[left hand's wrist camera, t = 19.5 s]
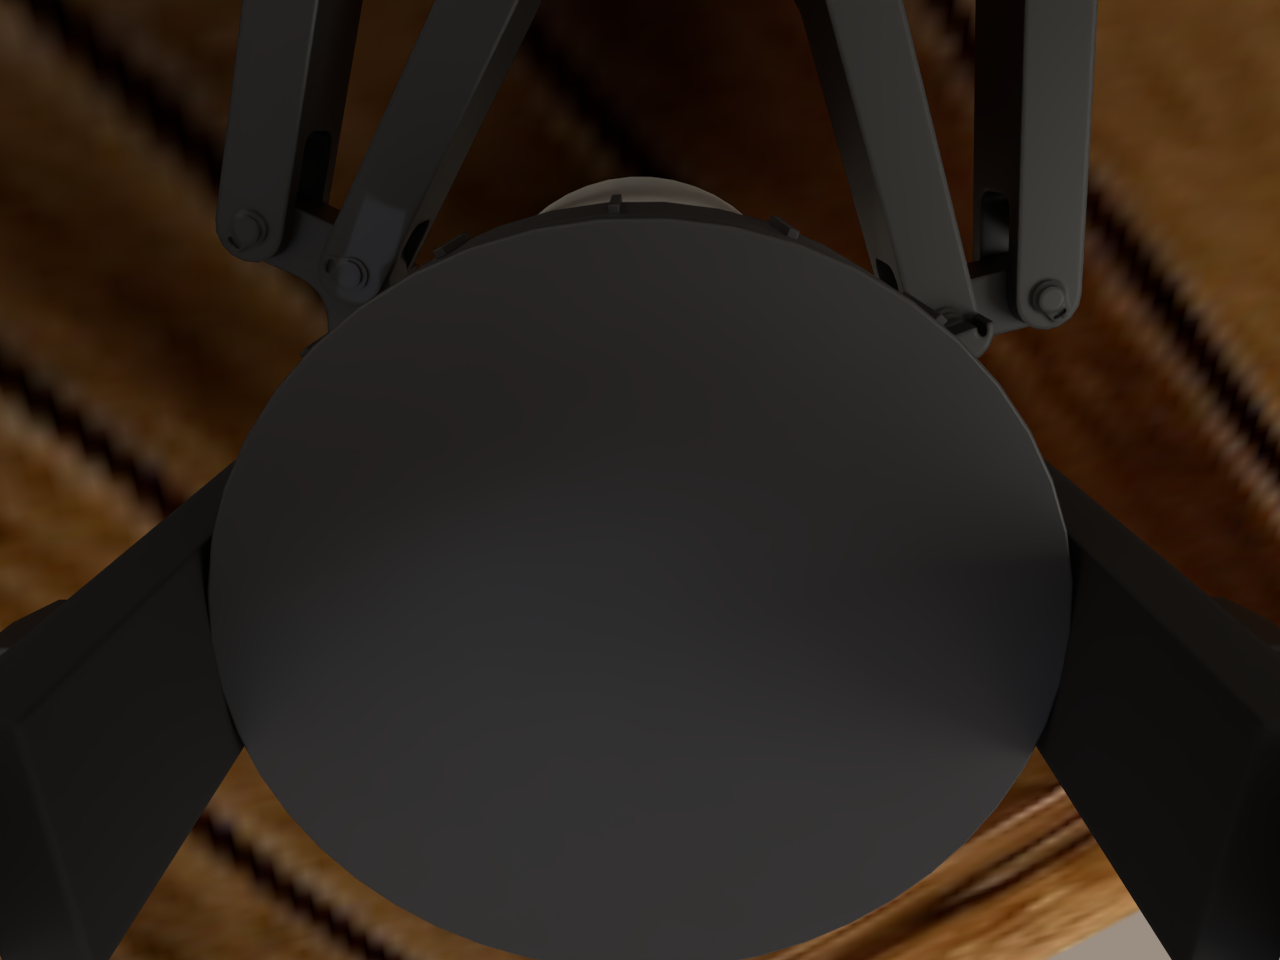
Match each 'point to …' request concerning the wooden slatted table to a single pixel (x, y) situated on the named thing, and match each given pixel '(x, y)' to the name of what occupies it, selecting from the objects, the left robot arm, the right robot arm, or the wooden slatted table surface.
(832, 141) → the wooden slatted table surface
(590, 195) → the jar
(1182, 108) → the wooden slatted table surface
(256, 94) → the right robot arm
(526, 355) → the lid
